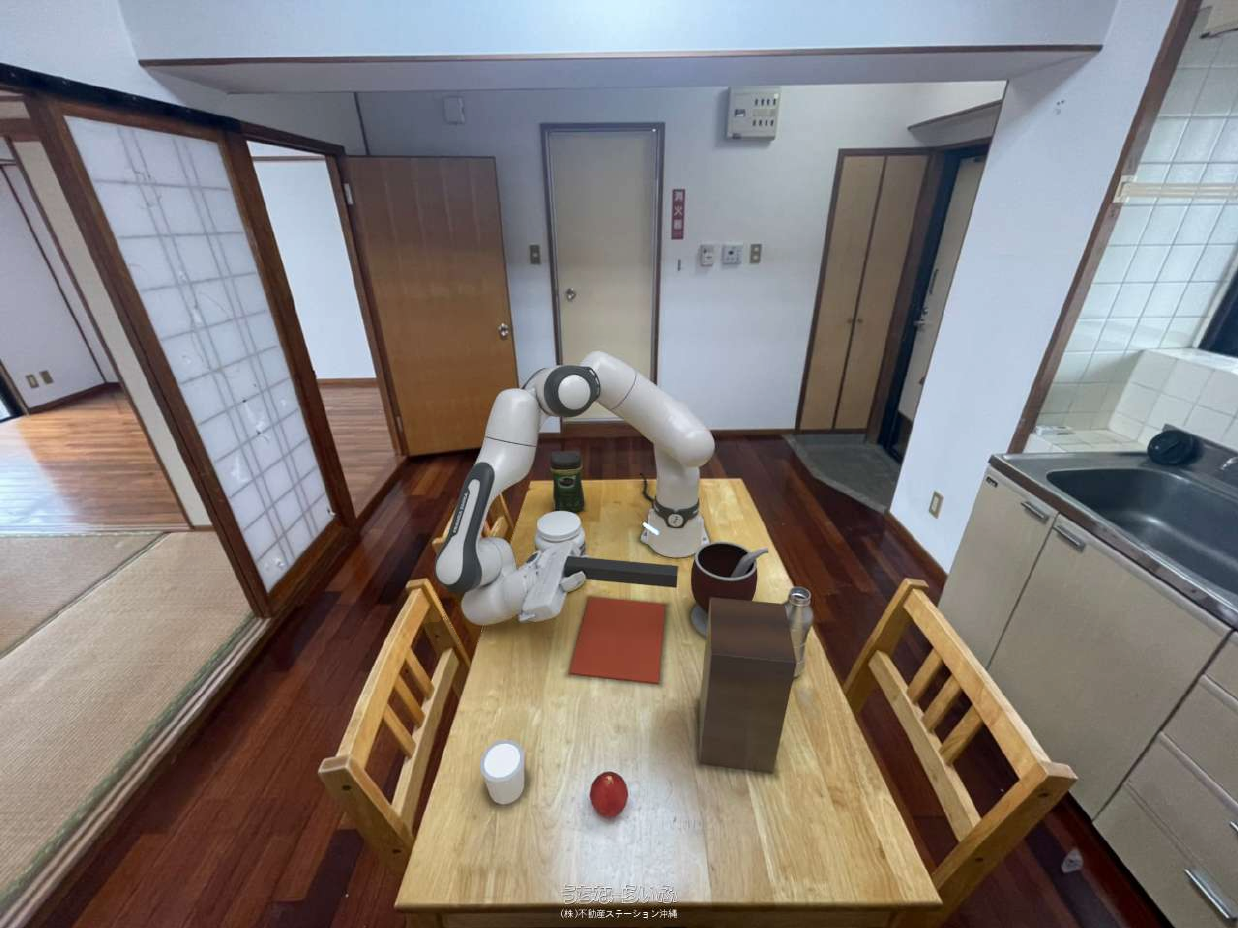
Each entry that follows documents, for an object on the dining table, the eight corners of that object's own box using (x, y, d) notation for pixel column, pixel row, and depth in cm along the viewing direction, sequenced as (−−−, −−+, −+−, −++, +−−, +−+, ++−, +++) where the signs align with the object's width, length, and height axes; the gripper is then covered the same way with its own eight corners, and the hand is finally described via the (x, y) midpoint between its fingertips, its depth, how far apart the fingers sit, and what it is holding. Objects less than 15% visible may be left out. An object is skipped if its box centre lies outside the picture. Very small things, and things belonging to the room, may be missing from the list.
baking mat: (589, 598, 123) (589, 596, 122) (665, 605, 120) (665, 603, 120) (568, 674, 103) (568, 672, 103) (658, 684, 101) (658, 682, 101)
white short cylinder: (477, 783, 84) (471, 757, 81) (514, 757, 88) (510, 731, 85) (498, 818, 80) (492, 791, 76) (536, 788, 83) (532, 762, 80)
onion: (583, 813, 80) (581, 782, 76) (604, 781, 84) (603, 751, 81) (614, 835, 77) (613, 805, 74) (634, 802, 82) (635, 771, 78)
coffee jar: (584, 499, 162) (582, 446, 154) (584, 513, 155) (582, 458, 147) (553, 500, 162) (549, 447, 153) (552, 514, 155) (548, 459, 146)
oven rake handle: (568, 567, 104) (567, 555, 103) (677, 577, 101) (678, 565, 100) (564, 577, 102) (563, 565, 100) (676, 587, 99) (677, 575, 97)
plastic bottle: (804, 685, 101) (822, 607, 91) (768, 679, 102) (782, 602, 93) (800, 659, 106) (817, 583, 97) (766, 654, 107) (780, 579, 98)
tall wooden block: (699, 702, 97) (710, 597, 85) (764, 709, 96) (784, 603, 84) (699, 763, 87) (711, 653, 75) (772, 773, 85) (796, 662, 73)
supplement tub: (589, 592, 124) (587, 535, 117) (538, 598, 123) (532, 540, 115) (584, 561, 135) (582, 506, 127) (537, 566, 133) (532, 510, 126)
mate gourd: (690, 643, 110) (696, 569, 101) (685, 598, 122) (690, 528, 113) (763, 644, 110) (776, 570, 100) (751, 599, 122) (761, 529, 113)
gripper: (505, 613, 96) (566, 590, 91) (536, 547, 114) (588, 525, 109) (524, 636, 98) (584, 615, 93) (551, 567, 116) (603, 547, 111)
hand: (587, 566), depth 101 cm, fingers closed on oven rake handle, 3 cm apart
